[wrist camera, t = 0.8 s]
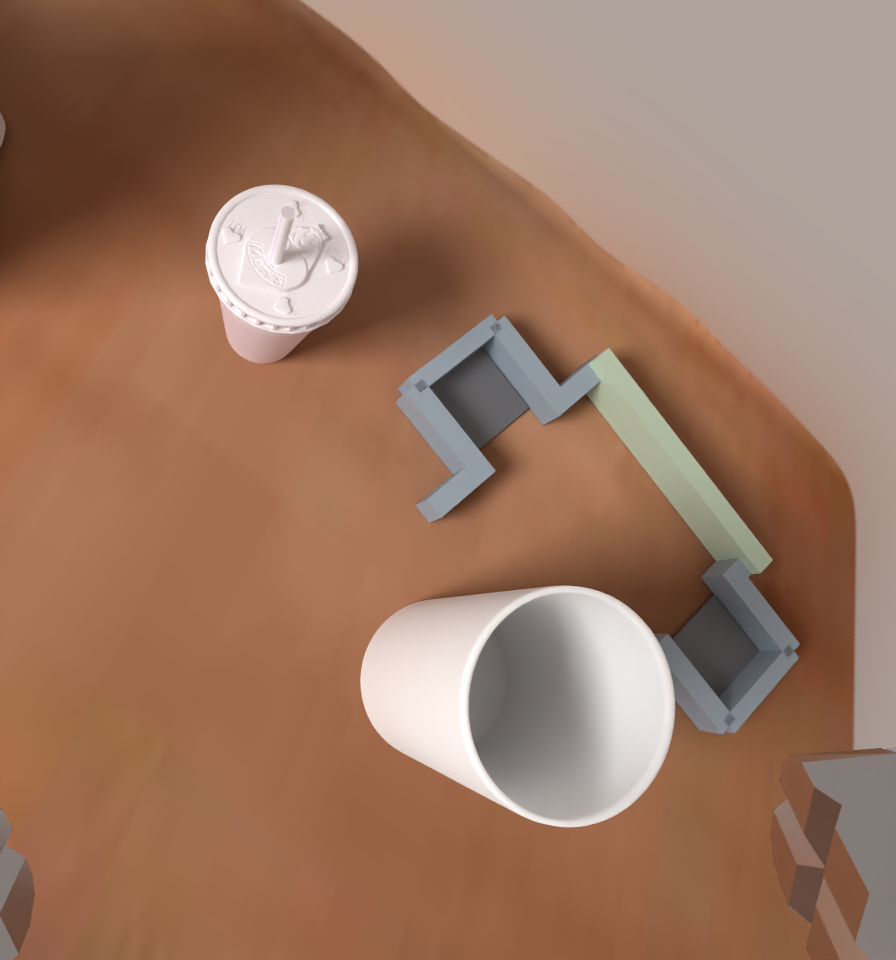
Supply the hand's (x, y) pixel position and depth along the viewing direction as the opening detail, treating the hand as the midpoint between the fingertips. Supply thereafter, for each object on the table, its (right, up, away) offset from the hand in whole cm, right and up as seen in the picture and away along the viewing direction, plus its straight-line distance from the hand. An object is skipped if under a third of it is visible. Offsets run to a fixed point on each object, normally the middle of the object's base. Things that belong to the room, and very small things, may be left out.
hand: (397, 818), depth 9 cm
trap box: (+8, 0, +39) cm, 40 cm away
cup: (0, -7, +36) cm, 36 cm away
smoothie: (-9, +11, +36) cm, 39 cm away
